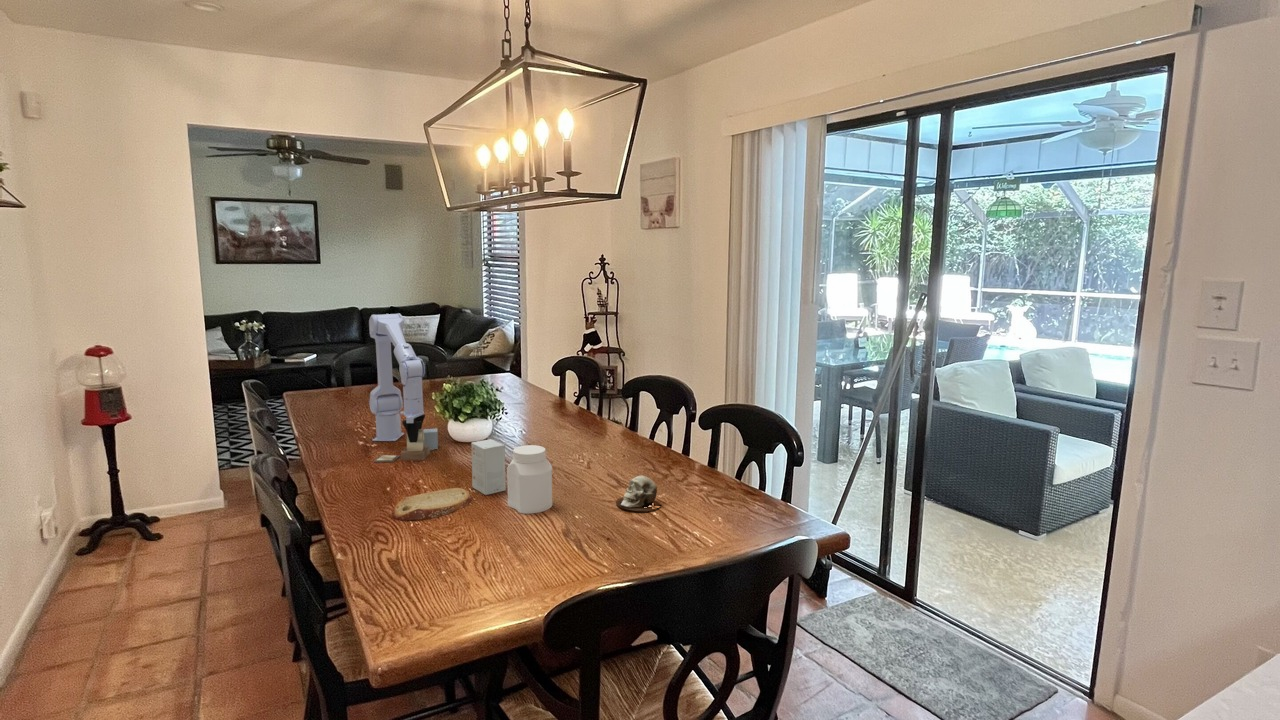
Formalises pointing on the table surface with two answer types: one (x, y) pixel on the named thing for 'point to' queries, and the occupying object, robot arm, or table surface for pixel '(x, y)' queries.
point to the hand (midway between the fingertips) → (414, 439)
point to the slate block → (431, 438)
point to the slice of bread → (431, 504)
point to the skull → (639, 495)
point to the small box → (488, 466)
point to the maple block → (416, 445)
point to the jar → (529, 480)
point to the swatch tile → (387, 458)
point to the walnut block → (415, 454)
